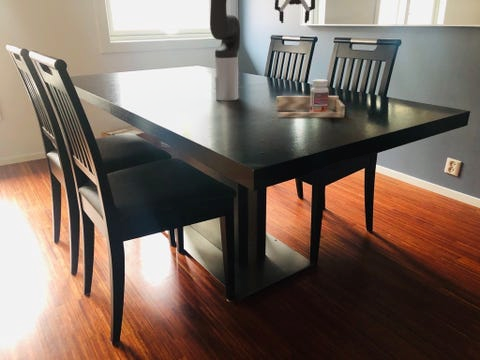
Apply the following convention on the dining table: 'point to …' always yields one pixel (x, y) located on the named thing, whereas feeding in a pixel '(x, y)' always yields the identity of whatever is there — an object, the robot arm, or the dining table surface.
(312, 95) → the pill bottle
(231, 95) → the robot arm
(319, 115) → the tray
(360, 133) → the dining table surface
